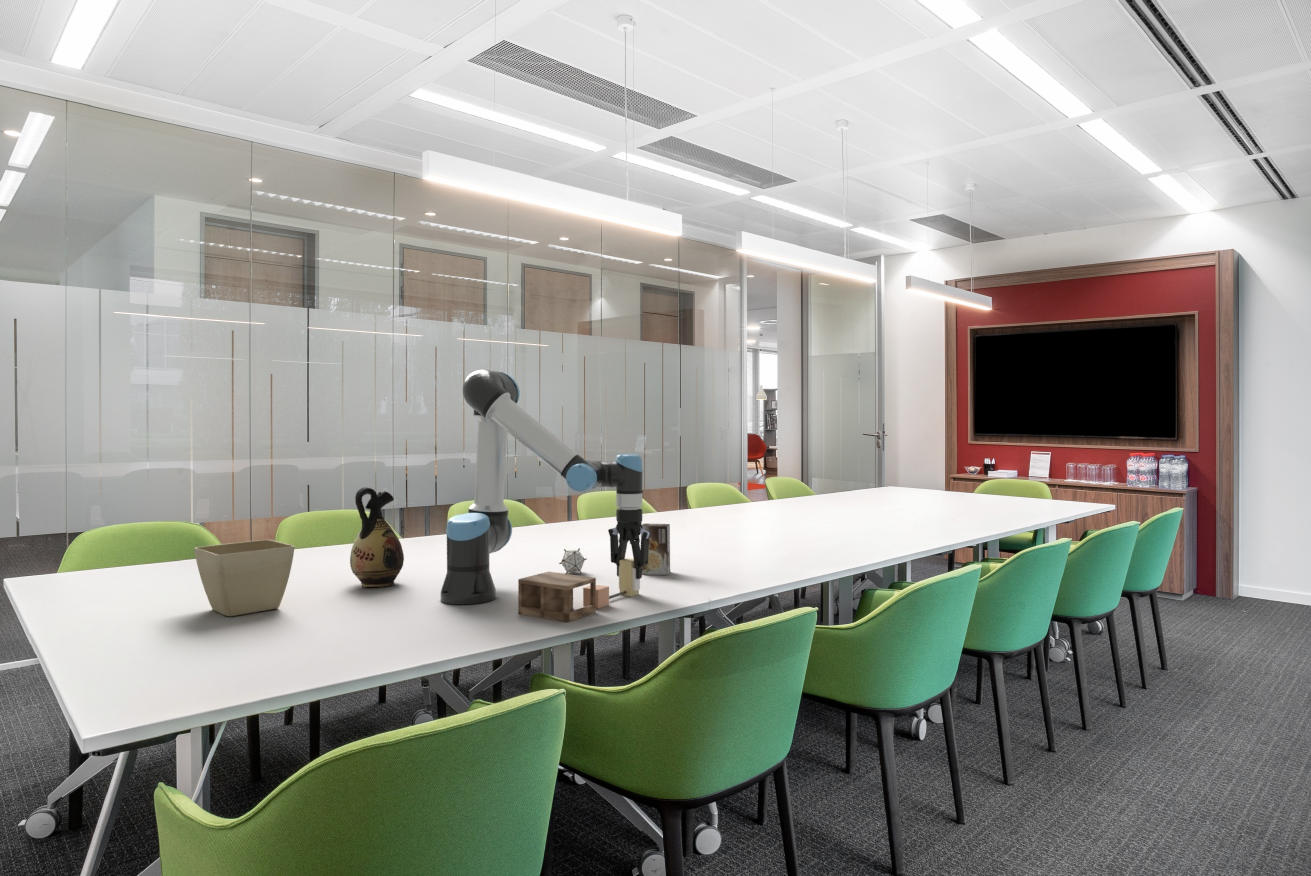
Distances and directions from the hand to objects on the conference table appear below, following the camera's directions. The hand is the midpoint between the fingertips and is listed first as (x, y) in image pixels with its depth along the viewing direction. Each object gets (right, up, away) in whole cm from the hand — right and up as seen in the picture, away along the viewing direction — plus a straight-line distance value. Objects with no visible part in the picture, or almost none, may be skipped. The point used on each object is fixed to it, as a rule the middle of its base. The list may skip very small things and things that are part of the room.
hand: (629, 588), depth 222 cm
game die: (-20, -1, +31) cm, 37 cm away
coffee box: (+8, -1, +31) cm, 32 cm away
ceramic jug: (-78, -2, +12) cm, 79 cm away
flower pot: (-101, -2, -18) cm, 103 cm away
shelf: (-18, -2, -22) cm, 28 cm away
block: (-4, -2, -7) cm, 8 cm away
